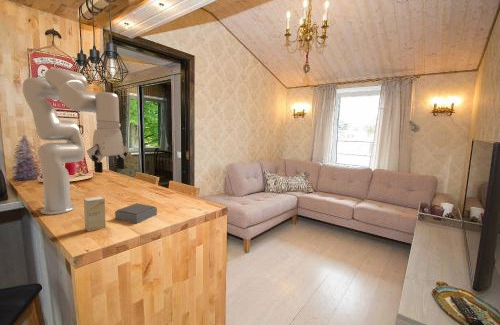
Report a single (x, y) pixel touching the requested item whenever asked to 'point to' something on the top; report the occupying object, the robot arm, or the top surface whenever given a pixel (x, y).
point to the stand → (136, 213)
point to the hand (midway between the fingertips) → (110, 170)
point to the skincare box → (94, 213)
